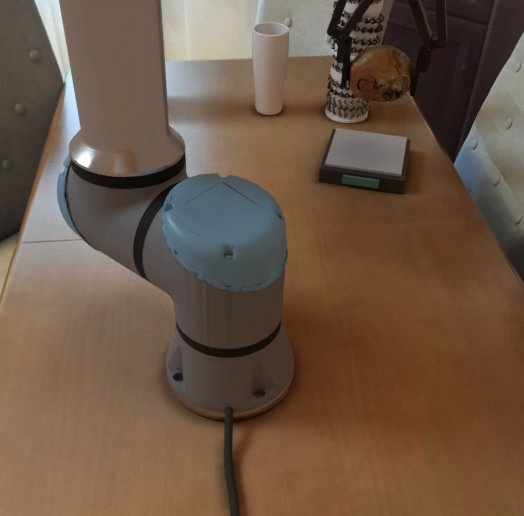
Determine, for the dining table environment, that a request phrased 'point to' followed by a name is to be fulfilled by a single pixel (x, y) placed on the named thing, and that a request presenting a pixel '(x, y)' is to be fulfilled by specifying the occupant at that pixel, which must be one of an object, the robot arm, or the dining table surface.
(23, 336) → the dining table surface
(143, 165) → the robot arm
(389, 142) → the kitchen scale
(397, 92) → the bread roll
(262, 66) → the drinking glass
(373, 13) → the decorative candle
